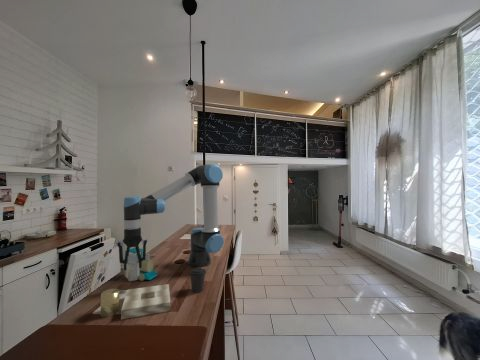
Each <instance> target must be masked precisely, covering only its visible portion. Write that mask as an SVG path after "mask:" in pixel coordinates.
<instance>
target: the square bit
mask: <svg viewBox="0 0 480 360" xmlns="http://www.w3.org/2000/svg"><path fill="white" fill-rule="evenodd" d="M137 261H138V256H137V253H129V255H128V279H127V281H128V282H133V281H137V280H139V278H138V276H137Z"/></svg>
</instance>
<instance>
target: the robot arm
mask: <svg viewBox="0 0 480 360" xmlns="http://www.w3.org/2000/svg"><path fill="white" fill-rule="evenodd" d="M223 176H224V173H223V170H222V168H221V167H220V166H219V165H218V164H215V163H209V164H203V165H198V166H196V167H195V168H193V169H191V170H190V171H188V172H186V173H185V175H184V176H182V177H180V178H178V179H177V180H175V181H173V182H171V183H169V184H167V185H164V187H162V188H160V189H158V190H156V191H155V192H152V193H151V194H148V196H146V197H141V196H138V195H137V196H136V195H135V196H125V197H124V199H123V228H124V229H123V239H122V240H121V241H118V242H117V244H116V245H117V247H118V257H119V258H118V259H119V264H123V271H124V270H126V275H127V277H128V262H127V260H128V255H129V254H130V252H129V250H130V249H132V248H135V249H136V252H137V256H138V260H139V261H137V276H139V268H141V267H142V261H143V260H145V259H146V254H147V242H148V239H147V238H146V239H145V238H143V237H142V228H141V227H142V216H144V215H154V214H157V215H158V214H162V213H163V214H164V212H165V210H166V203H165V202H167V200H169V199H171V198H173V197H174V196H176V195H178V194H180V193H181V192H183V191H184V190H187V189H188V188H190V187H195V186H197V185H199V184H200V187H201V188H202V192H203V193H202V195H203V197H202V198H203V200H202V201H203V205H202V207H203V227H197V228H192V229H191V230H190V253H189V256H188V259H187V265H188V266H190V267H194V268H201V267H206V266H209V265H211V263H212V259H211V255H210V254H215V253H219V252H220V251H221V250H222V249H223V246H224V244H225V243H224V242H225V240H224V237H223V236H222V234H221V229H220V228H219V226H218V224H219V223H218V221H219V220H218V188H219V187H220V182H221V180H222V179H223V178H224V177H223ZM140 243H142V246H143V247H142V249H143V257H142V258H141V252H140V250H139V248H140ZM124 245H125V246H126V250H125V251H126V255H125V254H124V253H123V251H124V250H123V246H124Z"/></svg>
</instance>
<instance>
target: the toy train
mask: <svg viewBox="0 0 480 360" xmlns="http://www.w3.org/2000/svg"><path fill="white" fill-rule="evenodd" d="M139 250H140V254H141V258H142V257H143V248H141V247H139ZM132 253H137V252H136V249H135V247H131V248H130V250H129V254H132ZM125 255H126V250H125V251H124V256H125ZM138 261H139V260H138ZM127 262H128V260H127ZM154 267H155V262H154V259H151V253H146V258H145V260H143V261H142V267H141V268H139V276H138V280H139V281H141V282H143V281H144V280H147V281H148V280H149V281H151V280H152V279H154V278H155V277H157V276H158V274H157V272H156V271H155V269H154ZM123 274H124V275H123V276H124V277H125V278H126V279H127V280H128V277H127V275H126V270H124V269H123Z"/></svg>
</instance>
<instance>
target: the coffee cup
mask: <svg viewBox="0 0 480 360" xmlns="http://www.w3.org/2000/svg"><path fill="white" fill-rule="evenodd" d="M206 273H207V271H206V269H204V268H201V267H195V268H193V269H191V270H189V275H190V284H191V292H192V293H194V294H199V293H201V292H203V290H204V286H205V285H204V284H205V275H206Z"/></svg>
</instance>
